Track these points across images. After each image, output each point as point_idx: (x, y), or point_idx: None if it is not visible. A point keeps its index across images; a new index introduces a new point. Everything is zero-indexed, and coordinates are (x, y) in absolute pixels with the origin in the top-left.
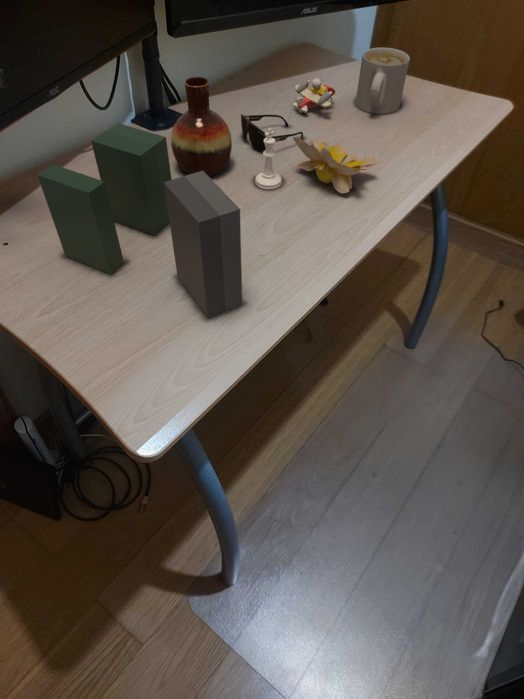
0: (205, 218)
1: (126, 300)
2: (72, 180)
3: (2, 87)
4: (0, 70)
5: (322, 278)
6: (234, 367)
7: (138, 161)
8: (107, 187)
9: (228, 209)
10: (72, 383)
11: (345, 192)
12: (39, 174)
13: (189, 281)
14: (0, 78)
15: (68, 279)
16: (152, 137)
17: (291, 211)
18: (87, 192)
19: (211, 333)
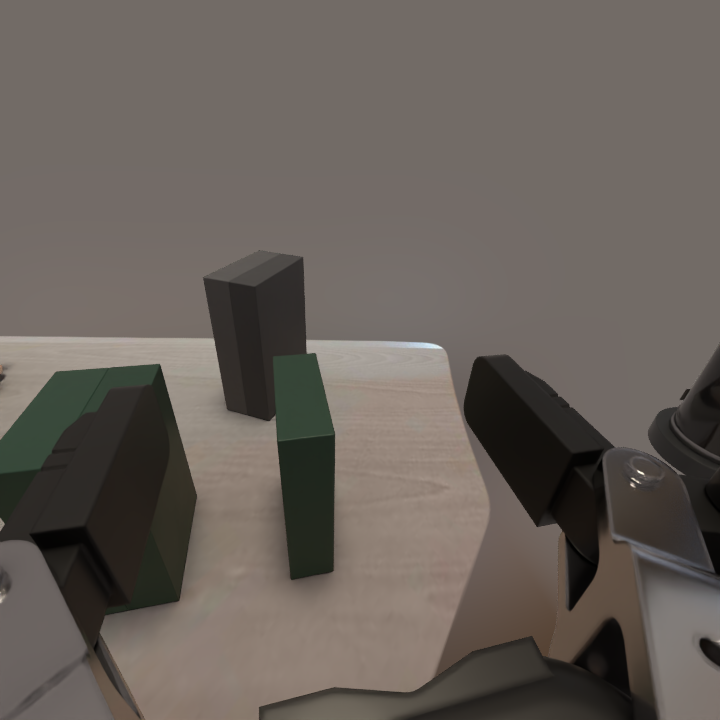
0: (293, 256)
1: (342, 435)
2: (303, 383)
3: (168, 457)
4: (123, 388)
5: (195, 344)
6: (339, 344)
7: (161, 379)
8: (160, 529)
9: (266, 253)
10: (456, 402)
11: (1, 368)
12: (330, 432)
13: None
14: (159, 412)
15: (369, 516)
16: (65, 383)
17: None
18: (315, 354)
19: (321, 366)
